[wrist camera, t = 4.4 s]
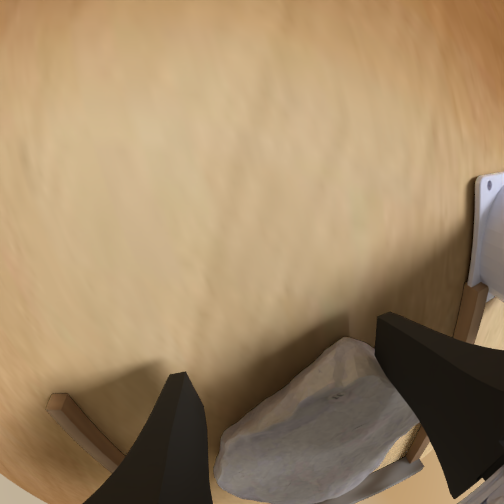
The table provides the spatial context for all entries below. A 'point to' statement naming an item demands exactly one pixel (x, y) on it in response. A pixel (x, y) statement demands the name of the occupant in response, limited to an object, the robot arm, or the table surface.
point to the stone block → (316, 431)
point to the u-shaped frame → (374, 483)
